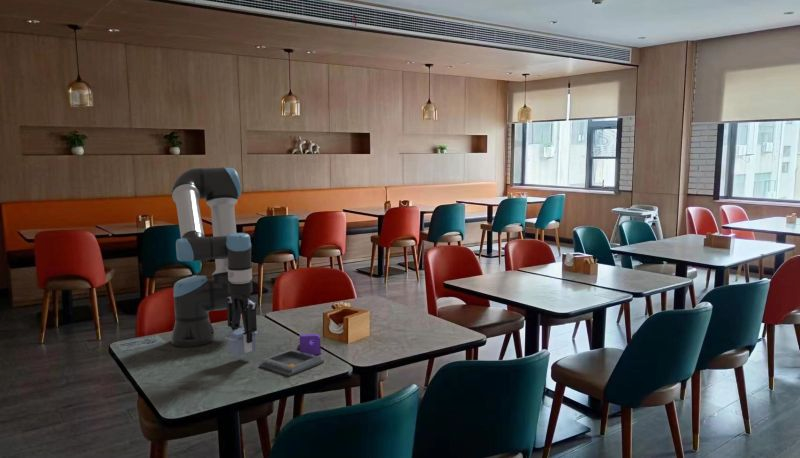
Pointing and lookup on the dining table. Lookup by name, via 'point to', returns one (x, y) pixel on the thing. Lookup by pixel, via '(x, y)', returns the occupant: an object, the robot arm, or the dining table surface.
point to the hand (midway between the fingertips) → (242, 349)
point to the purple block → (310, 344)
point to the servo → (239, 341)
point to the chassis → (290, 362)
